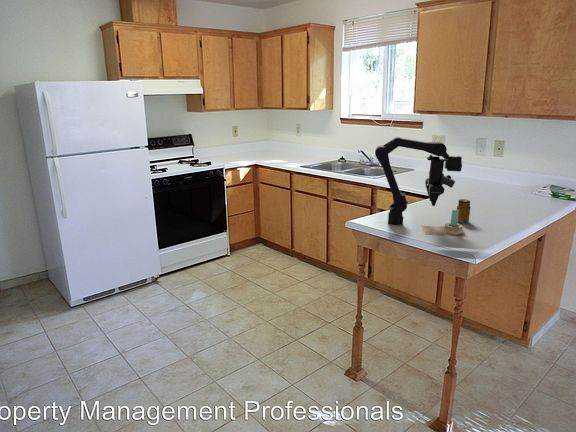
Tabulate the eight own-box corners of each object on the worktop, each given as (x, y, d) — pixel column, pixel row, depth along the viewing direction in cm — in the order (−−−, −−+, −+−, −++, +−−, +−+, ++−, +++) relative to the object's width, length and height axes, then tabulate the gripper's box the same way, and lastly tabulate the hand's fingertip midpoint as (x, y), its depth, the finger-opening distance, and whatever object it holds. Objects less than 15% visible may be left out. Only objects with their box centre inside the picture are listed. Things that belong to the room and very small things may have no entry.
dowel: (450, 232, 192) (453, 210, 190) (449, 230, 195) (451, 209, 192) (456, 232, 192) (459, 211, 189) (455, 230, 195) (458, 209, 192)
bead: (446, 233, 191) (447, 227, 190) (443, 228, 197) (444, 222, 196) (462, 234, 190) (463, 228, 189) (459, 229, 196) (460, 223, 195)
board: (424, 237, 190) (425, 234, 190) (420, 228, 202) (421, 225, 202) (467, 239, 187) (467, 236, 187) (460, 229, 200) (461, 227, 199)
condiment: (457, 221, 213) (460, 197, 210) (475, 224, 207) (478, 200, 204) (451, 224, 208) (454, 200, 205) (469, 228, 202) (472, 203, 199)
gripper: (458, 175, 185) (453, 210, 189) (451, 167, 203) (447, 199, 207) (431, 173, 187) (427, 208, 191) (426, 166, 205) (423, 198, 209)
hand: (432, 203), depth 200 cm, fingers open, 9 cm apart
